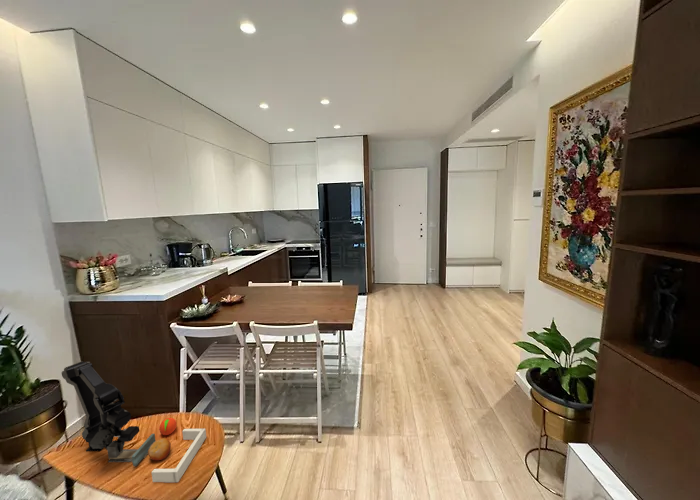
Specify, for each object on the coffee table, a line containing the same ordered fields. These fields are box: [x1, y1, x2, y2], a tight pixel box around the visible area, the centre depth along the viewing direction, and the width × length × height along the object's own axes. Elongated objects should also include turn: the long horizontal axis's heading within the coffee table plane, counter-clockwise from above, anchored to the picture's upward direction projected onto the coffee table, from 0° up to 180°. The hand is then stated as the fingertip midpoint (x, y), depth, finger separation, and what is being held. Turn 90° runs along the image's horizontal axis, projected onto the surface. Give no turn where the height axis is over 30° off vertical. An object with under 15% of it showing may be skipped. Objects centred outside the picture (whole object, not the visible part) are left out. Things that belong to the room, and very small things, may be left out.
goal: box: [151, 428, 207, 483], centre depth 122 cm, size 10×22×4 cm, turn 0°
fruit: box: [148, 437, 172, 461], centre depth 124 cm, size 8×8×8 cm
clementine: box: [158, 417, 177, 436], centre depth 135 cm, size 8×7×7 cm
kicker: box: [107, 433, 157, 467], centre depth 123 cm, size 15×12×6 cm
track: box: [107, 448, 139, 463], centre depth 124 cm, size 13×6×1 cm, turn 90°
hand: (115, 451), depth 123 cm, fingers open, 4 cm apart
